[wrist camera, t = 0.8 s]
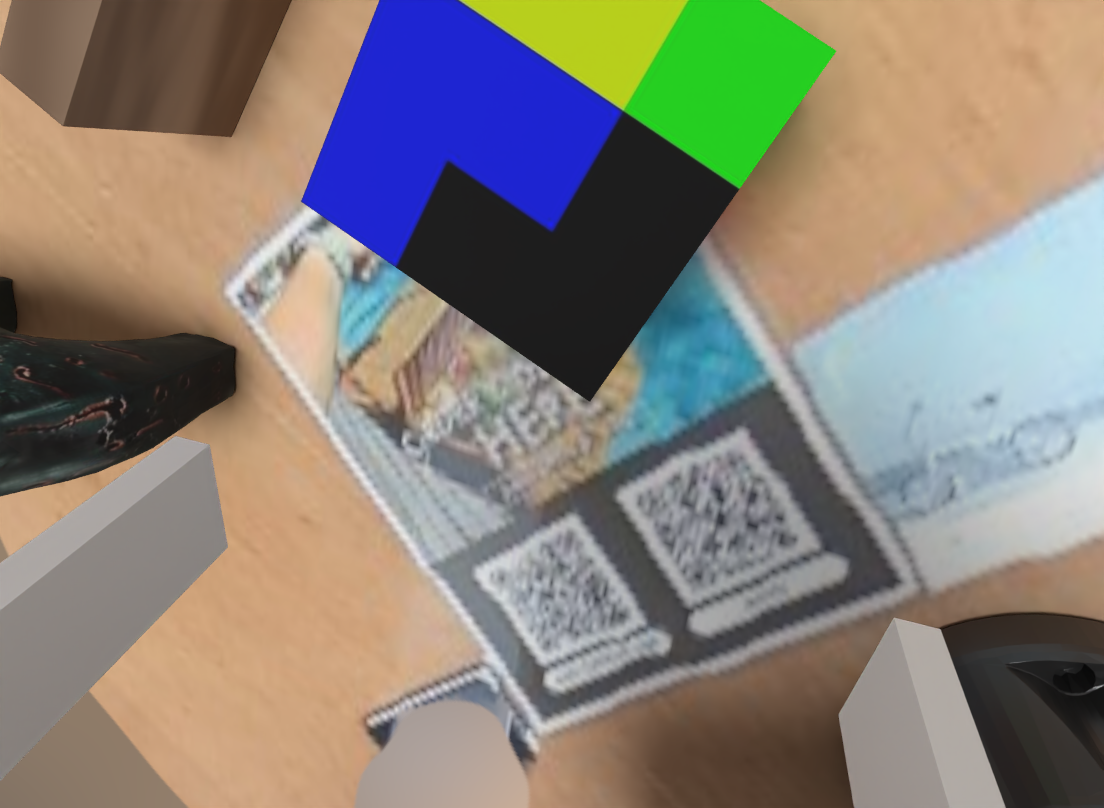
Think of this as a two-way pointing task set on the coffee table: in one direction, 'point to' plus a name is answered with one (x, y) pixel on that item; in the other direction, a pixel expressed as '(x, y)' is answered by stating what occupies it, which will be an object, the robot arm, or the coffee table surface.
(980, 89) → the coffee table surface
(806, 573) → the coffee table surface
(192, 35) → the walnut board
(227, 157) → the coffee table surface
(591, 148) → the puzzle toy
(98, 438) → the ceramic cat
